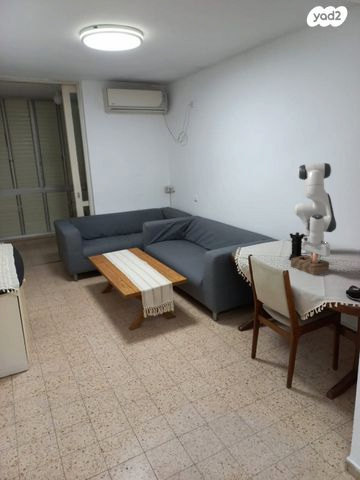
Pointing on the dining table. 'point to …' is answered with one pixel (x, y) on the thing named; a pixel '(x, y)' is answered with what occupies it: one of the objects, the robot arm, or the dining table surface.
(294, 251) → the chess piece
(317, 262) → the pin
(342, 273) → the dining table surface
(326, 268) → the bore block
